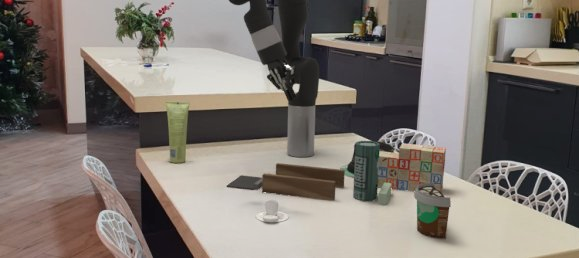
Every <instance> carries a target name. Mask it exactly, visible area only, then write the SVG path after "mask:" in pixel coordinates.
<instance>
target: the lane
mask: <svg viewBox="0 0 579 258" xmlns="http://www.w3.org/2000/svg"><path fill="white" fill-rule="evenodd" d="M345 176H346V175H345V170H340V168H338V169H337V168H329V167H319V166H310V165H300V164H289V163H280V162H279V163H278V162H277V163H276V164H275V174H273V173H266V172H265V173H263V174H262V177H261V178H262V187H261V191H262V193H263V192H266V193H265V194H271V193H276V194H275V195H280V194H282V195H283V196H288V195H290V197H297V196H298V198H307V199H315V200H316V199H317V200H325V201H332V202H333V201H335V199H336V188H337V189H344V188H345Z"/></svg>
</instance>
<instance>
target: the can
mask: <svg viewBox="0 0 579 258" xmlns="http://www.w3.org/2000/svg"><path fill="white" fill-rule="evenodd" d="M374 141H375V140H360V141H356V142H355V143H356V144H355V143H354V145H355V167H354V177H353V189H352V191H353V193H352V196H353V197H352V199H354V200H357V201H359V202H373V200H374V201H377V200H378V188H379V187H378V170H379V151H380V143H378V142H379V141H378V142H374Z"/></svg>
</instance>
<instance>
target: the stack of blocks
mask: <svg viewBox="0 0 579 258" xmlns="http://www.w3.org/2000/svg"><path fill="white" fill-rule="evenodd" d="M446 150H447V148H446V147H439V146H434V145H425V144H424V145H421V144H413V143H412V144H411V143H404V142H403V143H402V144H401V145H400V146H399V148H398V151H399V152H394V153H391V152H383V151H379V170H378V188H382V186H383V184H384V183H392V184H391V188H392V189H391V190H398V189H399V191H405V190H408V191H407V192H414V191H416V189H417V187H418V185H420V184H424V183H432V182H434V187H435V188H436V189H437V190H439V191H441V192H442V191H443V188H444V186H443V185H444V174H445V166H446Z"/></svg>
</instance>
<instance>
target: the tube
mask: <svg viewBox="0 0 579 258" xmlns="http://www.w3.org/2000/svg"><path fill="white" fill-rule="evenodd" d="M165 106H166V115H167V123H168V142H169V143H168V144H169V161H170V162H171V163H174V164H181V163H185V162H186V159H187V158H186V156H187V155H186V153H187V152H186V150H187V133H188V119H189V118H188V117H189V109H190V102H188V101H187V102H186V101H185V102H184V101H167V100H166V101H165Z"/></svg>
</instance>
